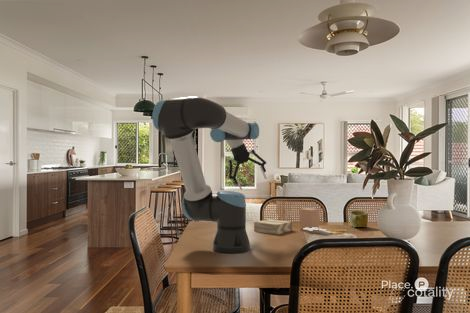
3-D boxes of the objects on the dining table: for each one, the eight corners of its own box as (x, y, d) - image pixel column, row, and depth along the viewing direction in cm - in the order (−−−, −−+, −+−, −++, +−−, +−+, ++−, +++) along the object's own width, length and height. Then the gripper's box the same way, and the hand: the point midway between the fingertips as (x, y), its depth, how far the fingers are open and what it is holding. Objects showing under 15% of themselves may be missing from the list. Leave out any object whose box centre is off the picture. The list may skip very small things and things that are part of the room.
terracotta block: (311, 231, 179) (311, 210, 179) (300, 230, 184) (299, 209, 184) (318, 229, 184) (318, 208, 185) (306, 228, 189) (306, 207, 189)
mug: (353, 220, 201) (356, 205, 198) (369, 228, 194) (373, 212, 190) (341, 227, 193) (344, 211, 190) (357, 236, 186) (361, 219, 183)
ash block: (276, 235, 172) (276, 225, 172) (254, 231, 182) (254, 222, 182) (292, 231, 183) (292, 221, 183) (270, 228, 192) (270, 218, 192)
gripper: (259, 135, 180) (274, 173, 182) (214, 154, 180) (230, 192, 182) (260, 136, 172) (277, 175, 175) (214, 156, 172) (231, 195, 175)
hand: (253, 183), depth 179 cm, fingers open, 13 cm apart
